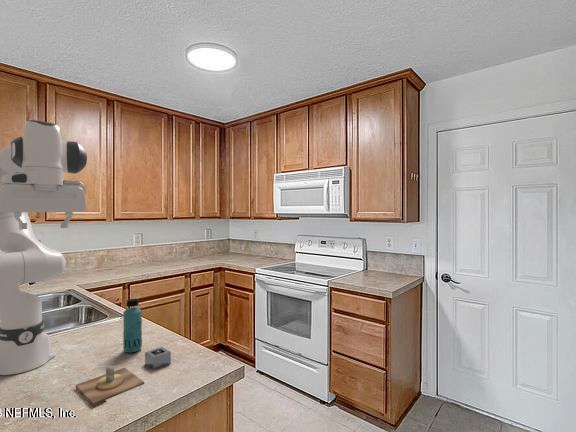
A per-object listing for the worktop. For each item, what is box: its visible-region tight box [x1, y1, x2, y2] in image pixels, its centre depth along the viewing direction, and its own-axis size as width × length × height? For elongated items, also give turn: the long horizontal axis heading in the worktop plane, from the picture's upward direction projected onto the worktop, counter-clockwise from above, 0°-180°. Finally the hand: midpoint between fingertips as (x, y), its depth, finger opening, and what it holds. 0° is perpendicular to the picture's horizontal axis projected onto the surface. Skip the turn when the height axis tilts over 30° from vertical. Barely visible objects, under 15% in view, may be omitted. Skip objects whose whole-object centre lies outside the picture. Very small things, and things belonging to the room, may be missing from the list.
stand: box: [144, 350, 170, 370], centre depth 110 cm, size 8×8×5 cm
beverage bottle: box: [122, 298, 143, 353], centre depth 121 cm, size 6×7×20 cm
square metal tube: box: [144, 346, 172, 370], centre depth 110 cm, size 6×6×4 cm
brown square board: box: [75, 365, 145, 408], centre depth 97 cm, size 14×14×6 cm
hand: (44, 228), depth 90 cm, fingers open, 8 cm apart
